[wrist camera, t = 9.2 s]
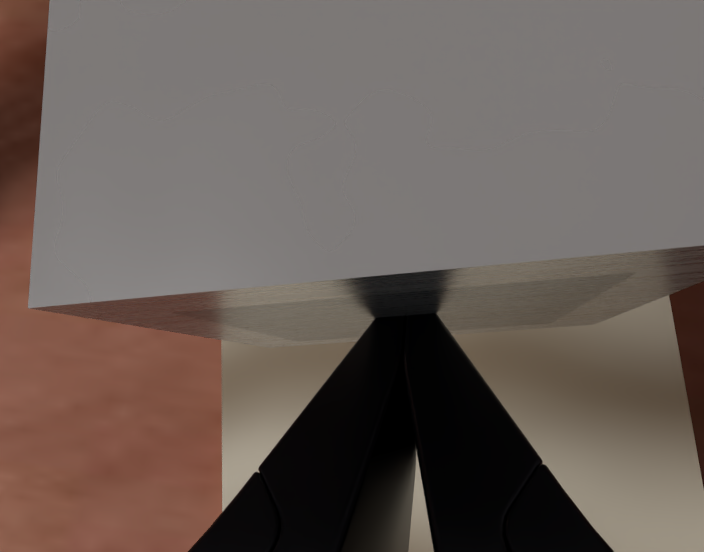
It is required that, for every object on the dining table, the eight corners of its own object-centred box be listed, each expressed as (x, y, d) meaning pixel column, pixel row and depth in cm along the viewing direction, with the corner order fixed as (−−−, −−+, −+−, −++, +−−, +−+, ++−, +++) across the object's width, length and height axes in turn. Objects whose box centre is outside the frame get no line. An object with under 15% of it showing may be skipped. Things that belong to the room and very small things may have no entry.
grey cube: (594, 324, 11) (820, 234, 4) (268, 347, 12) (27, 307, 5) (549, 23, 12) (661, -416, 5) (262, 72, 13) (66, -236, 7)
